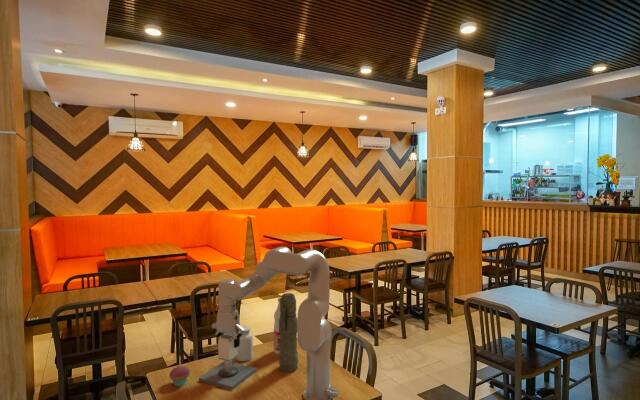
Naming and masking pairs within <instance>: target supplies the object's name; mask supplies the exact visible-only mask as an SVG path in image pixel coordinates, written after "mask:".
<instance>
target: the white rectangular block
mask: <svg viewBox="0 0 640 400" xmlns="http://www.w3.org/2000/svg"><path fill="white" fill-rule="evenodd" d="M235 334H236V333H235ZM236 335H237V334H236ZM234 339H235V338H234V336H233V334H226V333H222V335H221V336H220V337H218V344H217V346H218V347H217V348H218V349H217V350H218V353H217V354H218V357H217V359H218V360H221V361H223V362H224V361H228V362H230V361H231V360H232V361H233V360H234V359H237V358H236V357H237V356H238V347H237V348H234Z"/></svg>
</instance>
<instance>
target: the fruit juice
mask: <svg viewBox="0 0 640 400" xmlns="http://www.w3.org/2000/svg"><path fill="white" fill-rule="evenodd" d="M280 299H281V297H279V298H278V299H277V301H278V302H277V306H276V307H277V308H276V310H275V312H274V314H273V318H274V319H273V320H274V323H273V353H274V354H275V355H276V356H279V354H280V333H279V318H280V314H281V312H280Z"/></svg>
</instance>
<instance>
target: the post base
mask: <svg viewBox="0 0 640 400" xmlns="http://www.w3.org/2000/svg"><path fill="white" fill-rule="evenodd" d="M256 372H257V367H253V366H249V365H245V364H241V363H240V364H239V363H235V362H233V360H231V361H230V362H228V361H224V360H223V361H222V362H221V363H220V364H218V365H216V366H215V367H214V368H213V367H212V369H210V370H209V371H207V372H206V373H204V374H203V375H201V376H200V377H199V378H198V382H200V383H204V384H208V385H212V386H215V387H219V388H223V389H227V390H230V391H233V390H235V388H237V387H238V386H240V385H241V384H242V383H243V382H244V381H246V380H247V379H249V378H250V377H251V376H252V375H254V374H255V373H256Z"/></svg>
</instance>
